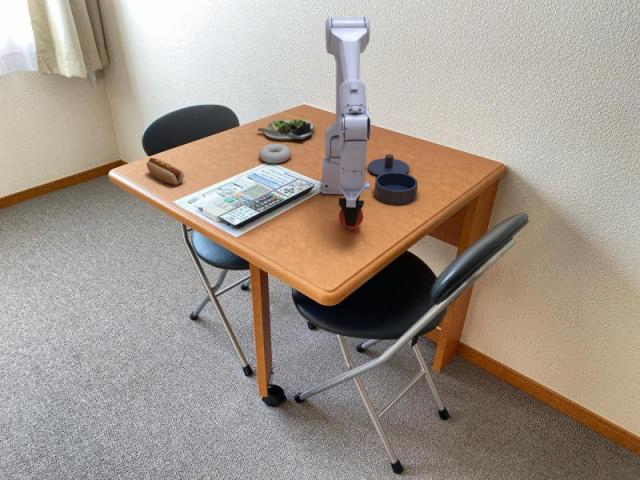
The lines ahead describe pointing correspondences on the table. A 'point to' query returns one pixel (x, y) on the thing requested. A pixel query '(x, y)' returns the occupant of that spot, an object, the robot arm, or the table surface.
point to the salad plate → (289, 130)
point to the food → (165, 171)
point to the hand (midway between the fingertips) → (350, 218)
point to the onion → (358, 222)
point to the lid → (387, 165)
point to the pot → (395, 188)
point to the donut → (275, 153)
